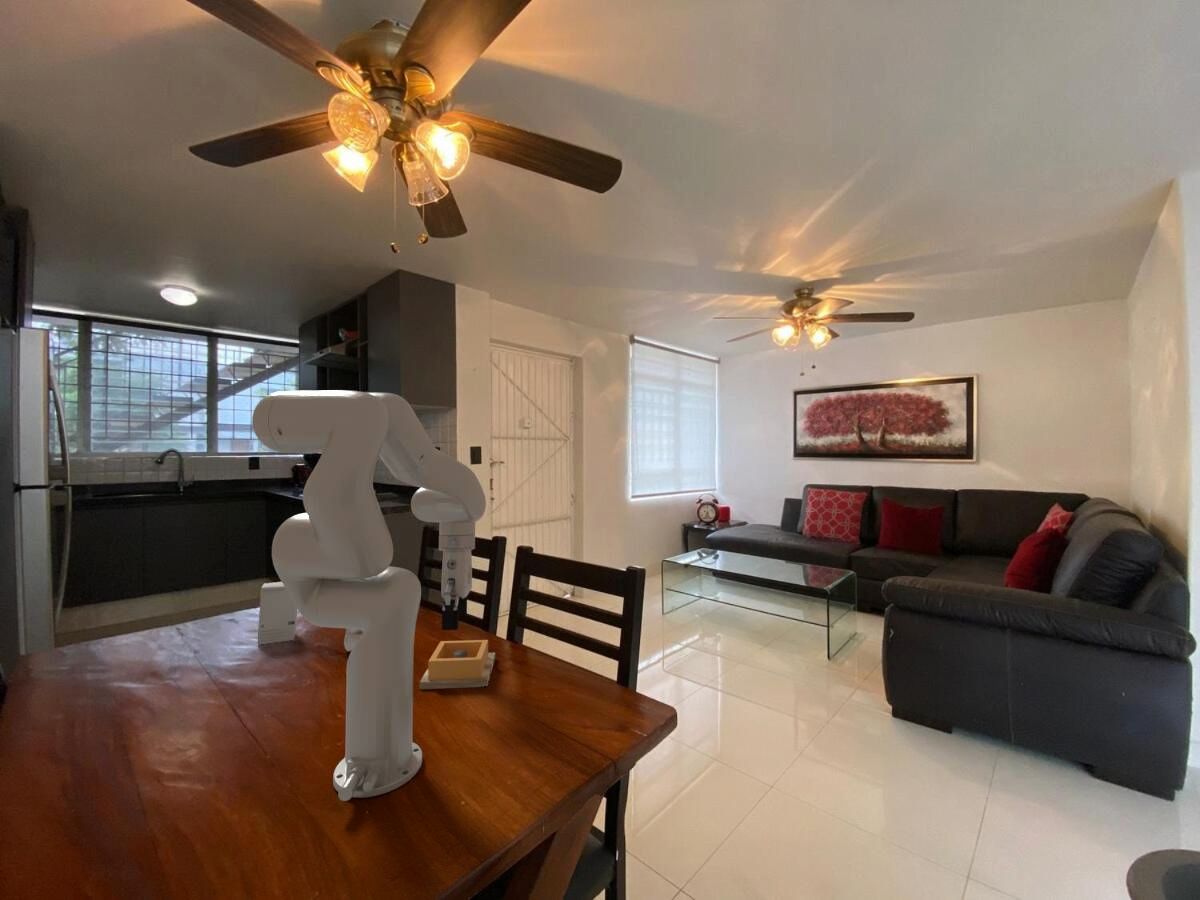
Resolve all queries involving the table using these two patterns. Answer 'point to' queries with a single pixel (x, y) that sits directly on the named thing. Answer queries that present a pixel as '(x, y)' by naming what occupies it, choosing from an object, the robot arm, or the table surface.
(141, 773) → the table surface
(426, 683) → the board
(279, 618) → the skincare box
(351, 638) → the plastic bottle
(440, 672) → the tan square frame
